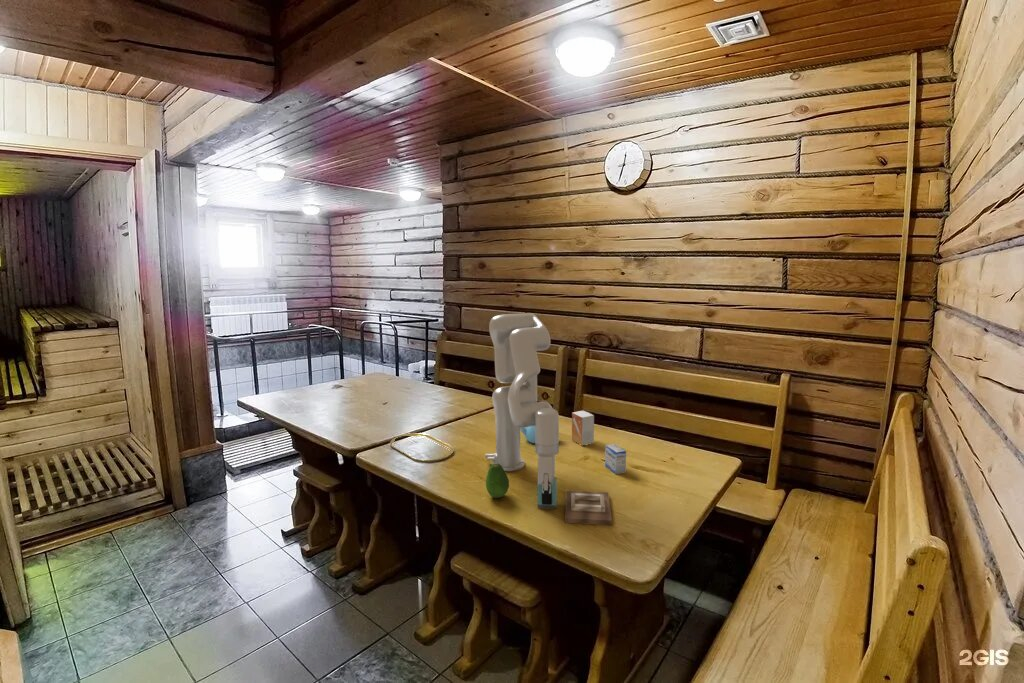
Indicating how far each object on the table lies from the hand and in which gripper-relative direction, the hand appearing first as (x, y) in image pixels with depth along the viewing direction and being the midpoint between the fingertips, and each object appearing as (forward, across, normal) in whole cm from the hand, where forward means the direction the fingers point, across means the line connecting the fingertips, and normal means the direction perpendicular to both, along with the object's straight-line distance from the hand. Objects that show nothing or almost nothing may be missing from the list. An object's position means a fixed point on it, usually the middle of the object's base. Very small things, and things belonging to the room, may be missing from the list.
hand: (547, 499), depth 157 cm
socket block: (+2, +1, +13) cm, 13 cm away
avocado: (+2, -4, -17) cm, 18 cm away
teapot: (+2, -58, -8) cm, 59 cm away
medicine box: (+2, -30, +24) cm, 38 cm away
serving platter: (+3, -44, -57) cm, 72 cm away
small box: (+2, -57, +12) cm, 58 cm away
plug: (+2, 0, 0) cm, 2 cm away
